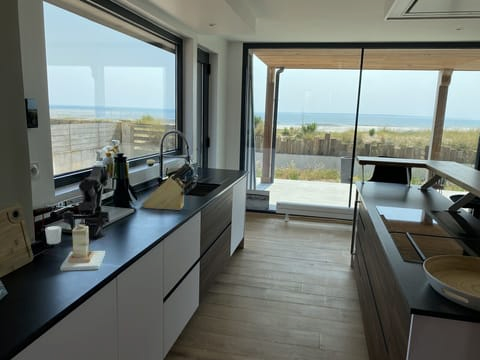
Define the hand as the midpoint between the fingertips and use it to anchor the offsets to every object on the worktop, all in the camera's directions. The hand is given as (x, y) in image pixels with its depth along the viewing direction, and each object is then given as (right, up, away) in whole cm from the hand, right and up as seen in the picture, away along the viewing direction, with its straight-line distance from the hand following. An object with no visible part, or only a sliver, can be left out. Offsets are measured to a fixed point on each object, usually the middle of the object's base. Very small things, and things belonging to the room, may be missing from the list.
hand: (84, 234), depth 156 cm
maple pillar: (+1, -9, -5) cm, 10 cm away
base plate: (+1, -10, -5) cm, 12 cm away
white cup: (-21, -6, +16) cm, 27 cm away
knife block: (+20, +5, +85) cm, 87 cm away
